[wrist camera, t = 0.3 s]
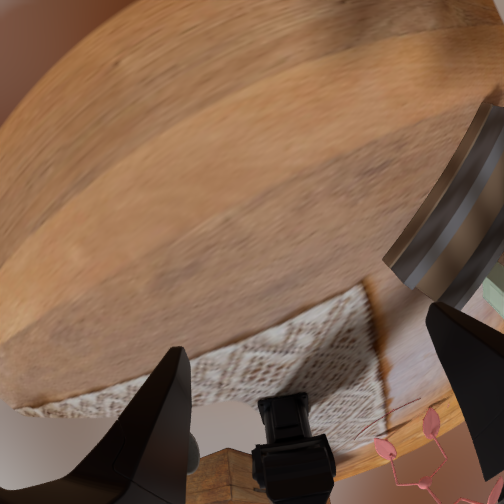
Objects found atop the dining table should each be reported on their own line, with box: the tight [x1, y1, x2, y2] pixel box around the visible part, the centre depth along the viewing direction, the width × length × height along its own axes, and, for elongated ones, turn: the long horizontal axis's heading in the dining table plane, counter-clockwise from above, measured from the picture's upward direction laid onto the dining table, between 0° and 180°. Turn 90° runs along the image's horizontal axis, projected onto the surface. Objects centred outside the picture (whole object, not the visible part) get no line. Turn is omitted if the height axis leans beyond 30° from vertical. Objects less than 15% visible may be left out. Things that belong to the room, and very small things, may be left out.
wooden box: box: [186, 448, 331, 504], centre depth 42 cm, size 30×16×14 cm, turn 44°
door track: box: [382, 102, 504, 311], centre depth 22 cm, size 20×11×4 cm, turn 148°
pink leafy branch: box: [354, 398, 503, 504], centre depth 27 cm, size 15×26×35 cm, turn 121°
